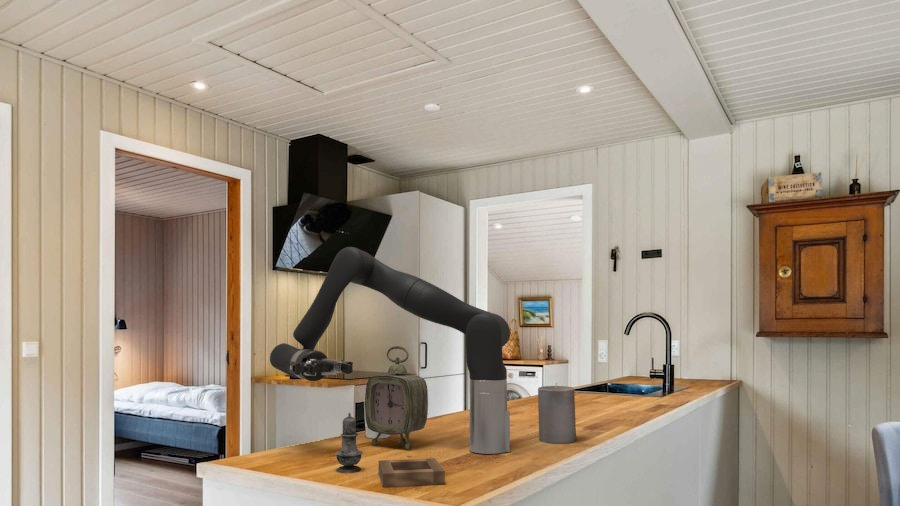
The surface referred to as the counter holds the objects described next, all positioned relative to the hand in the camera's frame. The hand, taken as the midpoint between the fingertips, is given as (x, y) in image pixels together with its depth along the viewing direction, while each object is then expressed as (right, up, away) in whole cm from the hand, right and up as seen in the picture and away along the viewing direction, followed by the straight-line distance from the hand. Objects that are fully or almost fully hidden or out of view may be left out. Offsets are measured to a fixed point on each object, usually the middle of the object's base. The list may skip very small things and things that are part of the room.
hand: (332, 369), depth 151 cm
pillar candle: (+55, -23, +22) cm, 64 cm away
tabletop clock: (+14, -22, +15) cm, 30 cm away
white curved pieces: (+8, -24, +28) cm, 38 cm away
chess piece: (+6, -20, -11) cm, 23 cm away
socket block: (+19, -18, -19) cm, 33 cm away
